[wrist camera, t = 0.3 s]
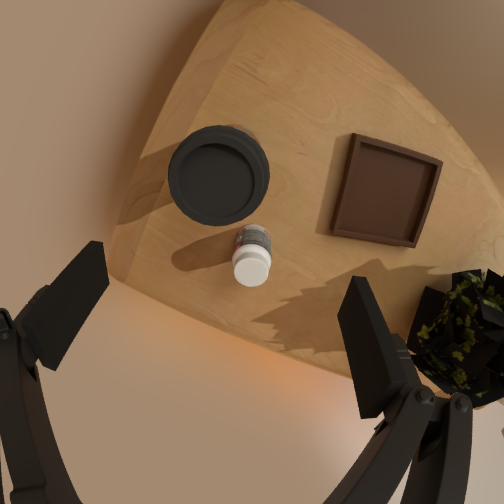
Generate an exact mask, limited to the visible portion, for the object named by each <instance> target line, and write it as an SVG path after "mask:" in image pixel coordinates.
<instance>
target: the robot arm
mask: <svg viewBox="0 0 504 504" xmlns="http://www.w3.org/2000/svg"><path fill="white" fill-rule="evenodd" d="M108 285H109V278H108V273H107V267H106V261H105V254H104V248H103V242H97V241H90V242H89V243H88V244H87V245H86V246H85V247H84V248H83V249H82V250H81V252H80V253H79V254H78V255H77V256H76V257H75V258H74V259H73V260H72V261H71V262H70V263H69V264H68V265H67V267H66V268H65V269H64V270H63V271H62V272H61V273H60V274H59V276H58V277H57V278H56V279H55V280H54V281H53V282H52V283H51V285H45V286H44V287H42V288H41V289H40V290H38V291H37V292H36V293H35V295H34V296H33V298H31V300H30V301H29V302H28V304H26V305H25V307H24V308H23V309H22V310H21V312H20V313H19V314H18V315H17V317H16V318H15V319H14V321H13V320H12V319H11V316H10V314H9V312H8V311H7V310H6V309H4V308H0V435H1V440H2V445H3V449H4V454H5V458H6V462H7V465H8V469H9V473H10V476H11V480H12V483H13V491H12V492H11V493H10V501H11V504H83V503H82V502H81V501H80V499H79V498H78V496H77V494H76V491H75V489H74V487H73V485H72V483H71V480H70V478H69V475H68V473H67V471H66V468H65V465H64V463H63V460H62V458H61V455H60V452H59V449H58V446H57V443H56V440H55V437H54V434H53V431H52V428H51V424H50V421H49V417H48V413H47V409H46V405H45V401H44V397H43V393H42V388H41V383H40V378H39V373H38V368H37V366H36V361H37V359H38V358H39V360H40V362H41V363H42V365H43V366H44V367H46V368H49V369H51V370H54V371H56V369H57V368H58V366H59V364H60V362H61V360H62V359H63V357H64V355H65V353H66V352H67V350H68V348H69V347H70V345H71V343H72V342H73V340H74V338H75V337H76V335H77V333H78V332H79V330H80V328H81V327H82V325H83V324H84V322H85V320H86V319H87V317H88V316H89V314H90V312H91V311H92V309H93V308H94V306H95V305H96V303H97V302H98V300H99V299H100V297H101V296H102V294H103V293H104V291H105V290H106V288H107V287H108ZM337 317H338V321H339V324H340V328H341V332H342V336H343V340H344V344H345V348H346V353H347V357H348V361H349V365H350V370H351V374H352V379H353V383H354V388H355V392H356V397H357V402H358V407H359V412H360V417H361V419H367V418H377V417H378V416H379V414H380V413H381V412H382V411H383V413H384V417H385V418H384V419H383V420H382V421H381V422H380V423H379V424H378V425H377V426H376V427H375V428H374V430H376V429H377V430H376V431H375V433H374V434H373V436H372V438H371V439H370V441H369V443H368V444H367V445H366V447H365V448H364V450H363V451H362V453H361V454H360V456H359V457H358V459H357V460H356V462H355V463H354V464H353V466H352V467H351V469H350V470H349V471H348V473H347V474H346V475H345V477H344V478H343V479H342V480H341V482H340V483H339V484H338V486H337V487H336V488H335V489H334V491H333V492H332V493H331V495H329V497H328V498H327V499H326V500H325V501H324V503H323V504H387V503H388V501H389V500H390V498H391V496H392V495H393V493H394V492H395V490H396V488H397V487H398V485H399V483H400V481H401V479H402V477H403V476H404V474H405V472H406V470H407V468H408V466H409V464H410V462H411V460H412V463H411V467H410V471H409V475H408V479H407V482H406V486H405V490H404V493H403V496H402V499H401V503H400V504H464V501H465V495H466V490H467V483H468V475H469V467H470V458H471V445H472V420H473V419H472V417H473V408H472V403H471V401H470V399H469V398H468V397H467V396H466V395H465V394H463V393H455V394H453V395H452V396H451V398H450V399H446V398H442V397H437V396H435V394H434V393H433V391H432V390H431V389H430V388H429V387H428V386H425V385H422V383H421V381H420V378H419V376H418V373H417V370H416V368H415V365H414V363H413V360H412V359H411V355H410V353H409V352H408V348H407V346H406V343H405V341H404V340H403V339H402V338H401V337H400V336H399V334H390V332H389V329H388V327H387V324H386V322H385V320H384V317H383V315H382V312H381V310H380V308H379V306H378V303H377V301H376V299H375V296H374V294H373V292H372V290H371V288H370V285H369V283H368V281H367V279H366V277H360V276H352V279H351V281H350V284H349V287H348V289H347V292H346V295H345V297H344V300H343V302H342V305H341V307H340V310H339V312H338V315H337ZM0 504H5V502H4V495H3V486H2V476H1V462H0Z"/></svg>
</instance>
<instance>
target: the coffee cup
mask: <svg viewBox="0 0 504 504" xmlns="http://www.w3.org/2000/svg"><path fill="white" fill-rule="evenodd" d="M269 179H270V172H269V163H268V160H267V158H266V155H265V153H264V151H263V149H262V148H261V146H260V143H259V141H258V139H257V138H256V136H255V135H254V134H253V133H252V132H251V131H250V130H249V129H247V128H245V127H242V126H238V125H225V126H221V125H217V126H210V127H204V128H202V129H200V130H198V131H195V132H193V133H192V134H191V135H189V136H188V137H187V138H186V139H184V140H183V141H182V143H181V144H180V145H179V146H178V148H177V149H176V151H175V152H174V153H173V155H172V158H171V161H170V164H169V169H168V183H169V188H170V192H171V195H172V197H173V199H174V201H175V203H176V205H177V206H178V207H179V209H180V210H181V211H182V212H183V213H184V214H185V215H187V216H188V217H189V218H191V219H192V220H194V221H197V222H199V223H201V224H204V225H210V226H225V225H229V224H232V223H235V222H238V221H241V220H243V219H244V218H246V217H247V216H249V215H250V214H252V213H253V212H254V211H255V210H256V209H257V207H258V206H259V205H260V204H261V202H262V200H263V198H264V196H265V194H266V191H267V189H268V184H269Z"/></svg>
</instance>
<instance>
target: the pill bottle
mask: <svg viewBox="0 0 504 504" xmlns="http://www.w3.org/2000/svg"><path fill="white" fill-rule="evenodd" d="M232 264H233V267H234V276H235V278H236V280H237V281H238V282H239V283H241V284H242V285H245V286H249V287H255V286H259V285H261V284H262V283H264V282H265V281H266V279H267V277H268V273H269V268H270V266H271V239H270V235H269V233H268V231H267V230H266V229H265V228H263V227H262V226H259V225H256V224H250V225H246V226H244V227H243V228H241V229H240V230H239V232H238V234H237V237H236V242H235V247H234V252H233V257H232Z"/></svg>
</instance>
